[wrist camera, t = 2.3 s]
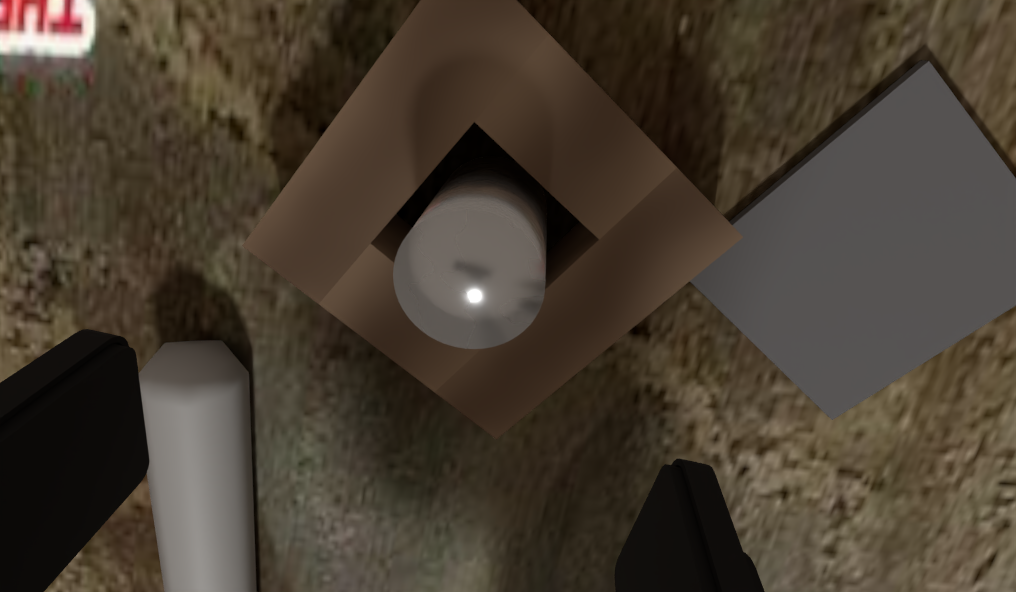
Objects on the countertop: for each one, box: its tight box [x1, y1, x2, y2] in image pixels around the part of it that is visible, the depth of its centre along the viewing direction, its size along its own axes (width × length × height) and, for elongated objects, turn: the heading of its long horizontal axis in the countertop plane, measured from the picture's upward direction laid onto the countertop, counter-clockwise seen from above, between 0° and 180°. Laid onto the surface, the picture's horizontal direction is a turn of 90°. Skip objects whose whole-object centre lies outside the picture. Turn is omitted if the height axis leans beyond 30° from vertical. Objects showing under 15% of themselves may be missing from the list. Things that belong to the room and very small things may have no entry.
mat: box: [690, 60, 1016, 420], centre depth 24 cm, size 12×12×1 cm
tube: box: [139, 340, 257, 592], centre depth 32 cm, size 5×5×25 cm
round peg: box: [393, 156, 547, 349], centre depth 21 cm, size 5×5×8 cm
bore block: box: [242, 0, 743, 439], centre depth 23 cm, size 14×14×4 cm
